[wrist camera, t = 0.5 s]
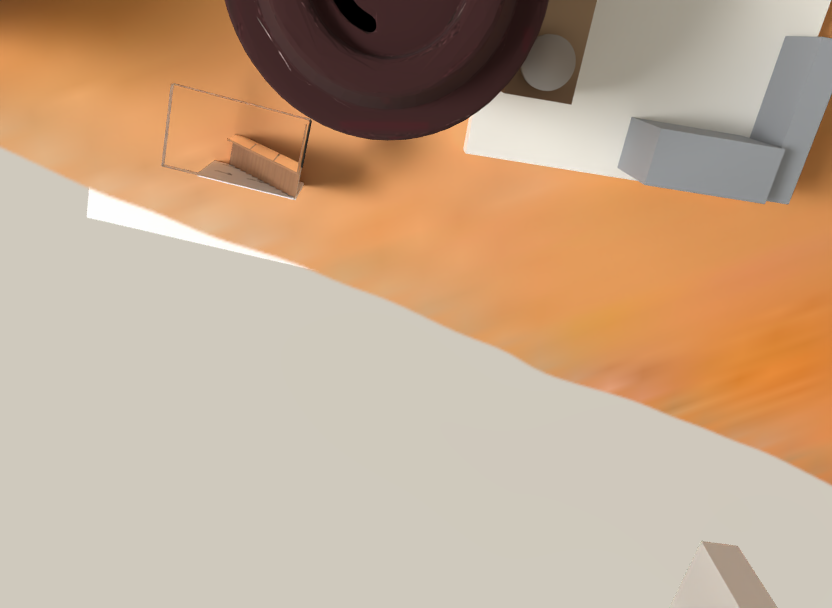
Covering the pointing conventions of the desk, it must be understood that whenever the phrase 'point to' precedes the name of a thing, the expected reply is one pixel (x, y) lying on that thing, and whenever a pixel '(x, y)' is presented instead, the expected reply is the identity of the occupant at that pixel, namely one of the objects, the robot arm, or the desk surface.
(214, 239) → the grey frame
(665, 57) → the board
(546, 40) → the leg
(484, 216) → the desk surface
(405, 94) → the coffee cup
